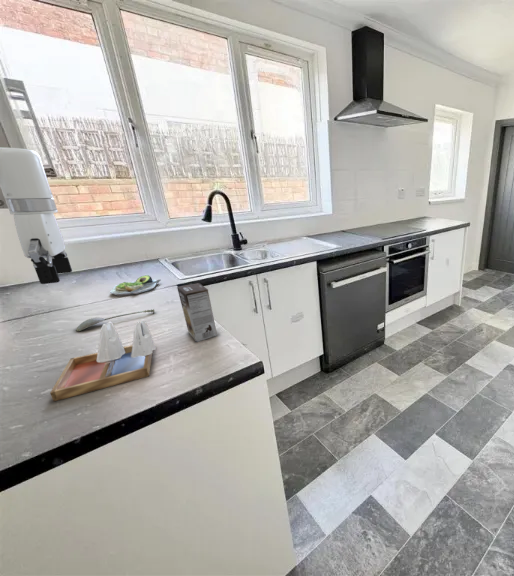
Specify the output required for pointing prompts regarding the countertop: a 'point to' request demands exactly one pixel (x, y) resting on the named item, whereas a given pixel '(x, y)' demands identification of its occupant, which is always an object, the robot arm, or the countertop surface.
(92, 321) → the soupspoon
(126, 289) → the avocado toast plate
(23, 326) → the countertop surface
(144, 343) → the shaker set
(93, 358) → the sorting tray
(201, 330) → the coffee box
